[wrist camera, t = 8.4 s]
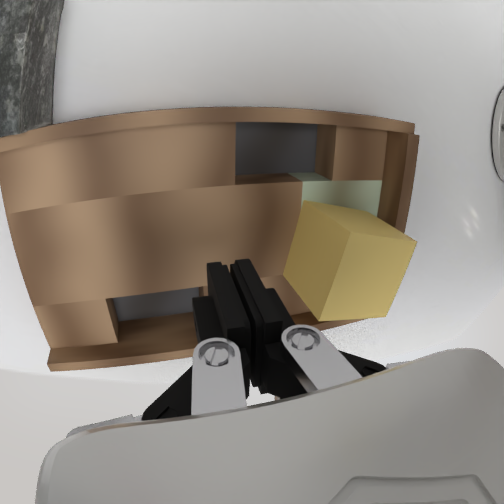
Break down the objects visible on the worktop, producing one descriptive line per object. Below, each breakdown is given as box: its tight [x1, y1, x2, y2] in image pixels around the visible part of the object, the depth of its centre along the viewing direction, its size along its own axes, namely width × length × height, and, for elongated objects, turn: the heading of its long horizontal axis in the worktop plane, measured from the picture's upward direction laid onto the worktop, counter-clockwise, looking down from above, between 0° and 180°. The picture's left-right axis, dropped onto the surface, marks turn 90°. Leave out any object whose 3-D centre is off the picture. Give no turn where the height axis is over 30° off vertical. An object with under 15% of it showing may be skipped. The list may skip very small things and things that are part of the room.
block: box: [283, 200, 417, 321], centre depth 18 cm, size 5×5×5 cm
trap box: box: [0, 107, 419, 371], centre depth 18 cm, size 24×14×4 cm, turn 89°
